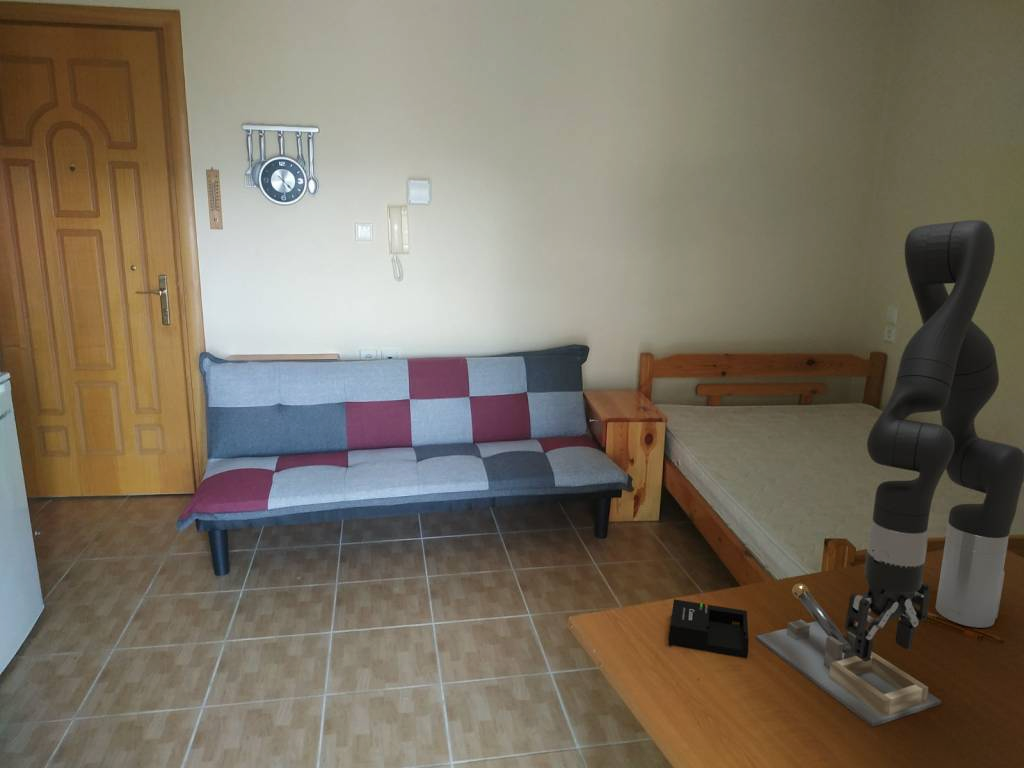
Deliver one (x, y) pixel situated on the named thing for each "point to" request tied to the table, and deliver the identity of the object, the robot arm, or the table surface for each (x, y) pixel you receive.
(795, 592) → the metal lever
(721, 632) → the battery charger
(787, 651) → the grey mounting base
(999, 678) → the table surface
